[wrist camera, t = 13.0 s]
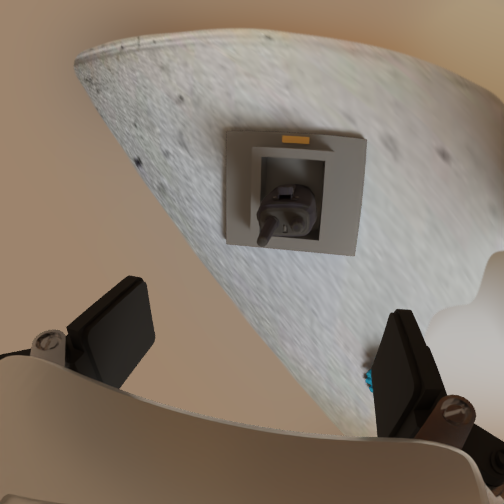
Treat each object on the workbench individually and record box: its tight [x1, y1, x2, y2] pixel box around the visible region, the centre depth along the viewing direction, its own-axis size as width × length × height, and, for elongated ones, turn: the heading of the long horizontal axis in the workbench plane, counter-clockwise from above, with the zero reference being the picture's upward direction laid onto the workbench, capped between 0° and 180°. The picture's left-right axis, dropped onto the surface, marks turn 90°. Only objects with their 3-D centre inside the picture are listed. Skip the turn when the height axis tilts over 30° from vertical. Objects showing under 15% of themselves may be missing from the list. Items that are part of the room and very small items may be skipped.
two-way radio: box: [256, 184, 317, 247], centre depth 27 cm, size 6×4×15 cm
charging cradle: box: [226, 131, 367, 256], centre depth 32 cm, size 16×14×4 cm
